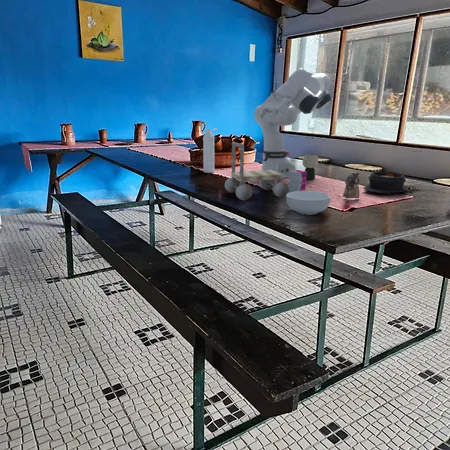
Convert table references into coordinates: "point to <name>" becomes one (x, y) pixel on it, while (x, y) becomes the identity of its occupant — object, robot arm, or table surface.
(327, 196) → the cereal bowl
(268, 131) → the robot arm
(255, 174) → the trolley
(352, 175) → the figurine
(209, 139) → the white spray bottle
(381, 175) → the casserole
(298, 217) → the table surface
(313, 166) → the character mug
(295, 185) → the supplement box
